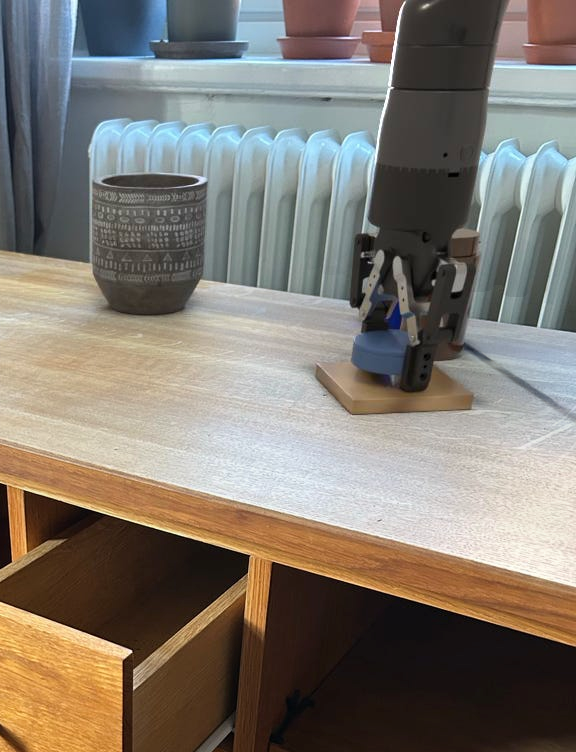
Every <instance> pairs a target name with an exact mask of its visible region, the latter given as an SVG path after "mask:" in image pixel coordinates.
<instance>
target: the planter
mask: <svg viewBox="0 0 576 752" xmlns="http://www.w3.org/2000/svg"><path fill="white" fill-rule="evenodd" d="M208 182H209V181H208V178H207V177H204V176H200V175H195V174H185V173H174V172H173V173H172V172H158V171H147V172H146V171H145V172H144V171H143V172H127V173H126V172H125V173H113V174H106V175H102V176H98V177H94V178H93V179H92V180H91V186H92V188H91V189H92V190H91V191H92V192H91V194H92V196H91V197H92V199H91V203H92V204H91V206H92V207H91V228H92V229H91V230H92V231H91V232H92V246H91V247H92V249H91V250H92V251H91V264H92V265H91V266H92V276H93V278H94V280H95V282H96V284H97V286H98V288H99V289H100V291H101V293H102V295H103V296H104V298H105V300H106V302H107V303H108V304H109V306H110V308H111V309H113V310H115V311H117V312H120V313H124V314H131V315H141V316H143V315H144V316H145V315H146V316H149V315H150V316H151V315H165V314H170V313H174V312H178V311H180V310H182V309H183V308H184V307H185V305H186V304H187V303H188V301H189V300H190V298H191V297H192V295H193V293H194V291H195V290H196V288H197V287H198V285H199V283H200V281H201V279H202V277H203V275H204V268H205V249H206V248H205V247H206V246H205V244H206V243H205V242H206V241H205V239H206V226H207V225H206V224H207V207H208V205H207V204H208V202H207V201H208V199H207V197H208Z"/></svg>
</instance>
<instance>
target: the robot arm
mask: <svg viewBox="0 0 576 752" xmlns="http://www.w3.org/2000/svg"><path fill="white" fill-rule="evenodd" d="M510 2H511V0H404V2H403V4H402V6H401V8H400V10H399V15H398V19H397V23H396V31H395V40H394V45H393V51H392V59H391V66H390V74H389V81H388V86H389V88H388V89H387V94H386V99H385V102H384V107H383V110H382V113H381V117H380V123H379V128H378V134H377V143H376V150H375V156H374V164H373V171H372V177H371V178H372V179H371V185H370V186H371V187H370V194H369V201H368V207H367V215H366V217H367V221H368V222H369V223H370V225H372V226H373V227H375V228H379V229H378V232H377V231H376V232H375V231H374V232H363V233H362V232H361V233H357V234H356V235H355V236H354V242H353V253H352V266H351V276H350V290H349V306H350V308H351V309H357V310H358V318H359V320H360V321H361V323H362V324H361V331H360V334H361V333H364V332H369V331H378V330H389V325H390V322H389V321H386V320H385V319H388V318H389V317H390V316H391V314H392V312H393V310H394V308H395V306H396V304H397V302H398V301H399V306H400V314H401V315H402V317H404V318H406V320H407V329H408V339H409V345H407V346H406V352H405V358H404V364H403V370H402V375H401V381H400V388H401V389H402V390H404V391H406V392H417V391H424V390H425V389H426V388H427V387H428V384H429V382H430V379H431V372H432V367H433V365H434V362H435V360H434V358H435V352H436V348H437V346H438V345H439V344H441V343H447V342H456V341H457V340H458V338H459V334H460V330H461V326H462V323H463V319H464V315H465V311H466V307H467V304H468V300H469V296H470V292H471V289H472V285H473V281H474V277H475V273H476V266H475V264H474V263H473V262H468V263H463V262H462V263H459V262H458V261H456V260H454V259H452V250H451V240H452V235H453V234H454V232H455V231H456V230H457V229H460V228H464V227H465V226H466V225H467V223H468V221H469V218H470V212H471V206H472V201H473V197H474V191H475V187H476V182H477V175H478V170H479V166H480V160H481V154H482V149H483V145H484V144H483V143H484V140H485V134H486V128H487V127H486V126H487V119H488V104H489V95H490V94H489V93H490V89H489V88H490V87H491V81H492V76H493V71H494V66H495V62H496V61H495V60H496V56H497V50H498V44H499V41H500V36H501V30H502V27H503V23H504V19H505V16H506V13H507V10H508V7H509V4H510ZM366 278H367V281H366V282H365V284H364V281H365V279H366ZM363 285H364V287H363ZM430 295H431V301H430V302H426V303H417V302H415V301H423V300H426V298H428V297H429V296H430ZM381 301H383V302H381ZM449 313H450V314H449ZM444 314H449V318H448V322H447V326H443V315H444ZM423 315H426V316H427V318H426V322H425V326H424V329H422V328H421V318H420V316H423Z"/></svg>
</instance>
